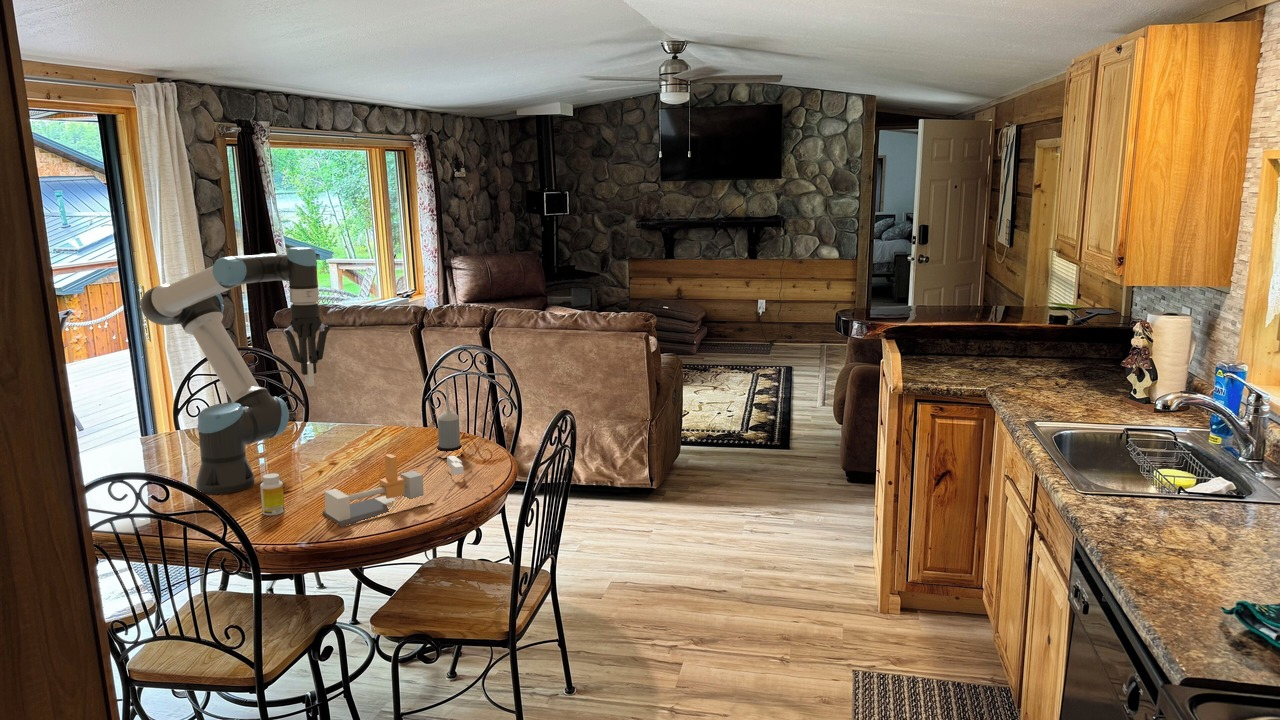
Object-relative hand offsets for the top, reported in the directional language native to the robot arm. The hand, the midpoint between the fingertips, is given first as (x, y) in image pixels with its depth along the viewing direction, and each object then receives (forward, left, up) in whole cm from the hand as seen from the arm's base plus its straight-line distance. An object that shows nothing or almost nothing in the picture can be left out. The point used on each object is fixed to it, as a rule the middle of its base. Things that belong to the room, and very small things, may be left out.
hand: (309, 385), depth 247 cm
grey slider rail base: (+4, -31, -29) cm, 43 cm away
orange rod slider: (+8, -31, -26) cm, 42 cm away
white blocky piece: (+33, -22, -30) cm, 50 cm away
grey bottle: (+44, -1, -30) cm, 53 cm away
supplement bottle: (-18, -15, -30) cm, 38 cm away
